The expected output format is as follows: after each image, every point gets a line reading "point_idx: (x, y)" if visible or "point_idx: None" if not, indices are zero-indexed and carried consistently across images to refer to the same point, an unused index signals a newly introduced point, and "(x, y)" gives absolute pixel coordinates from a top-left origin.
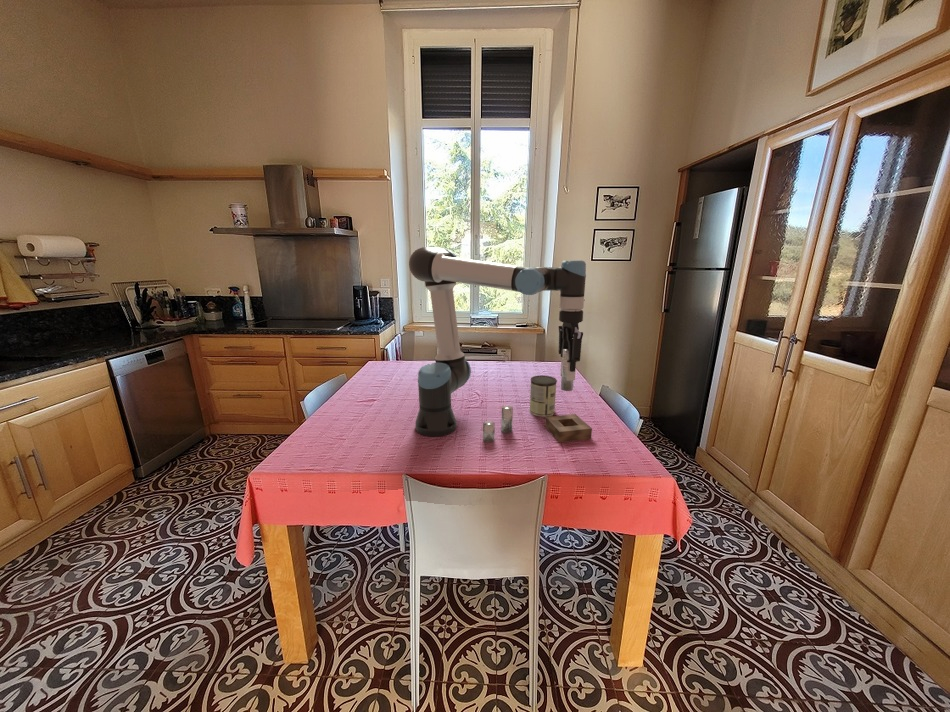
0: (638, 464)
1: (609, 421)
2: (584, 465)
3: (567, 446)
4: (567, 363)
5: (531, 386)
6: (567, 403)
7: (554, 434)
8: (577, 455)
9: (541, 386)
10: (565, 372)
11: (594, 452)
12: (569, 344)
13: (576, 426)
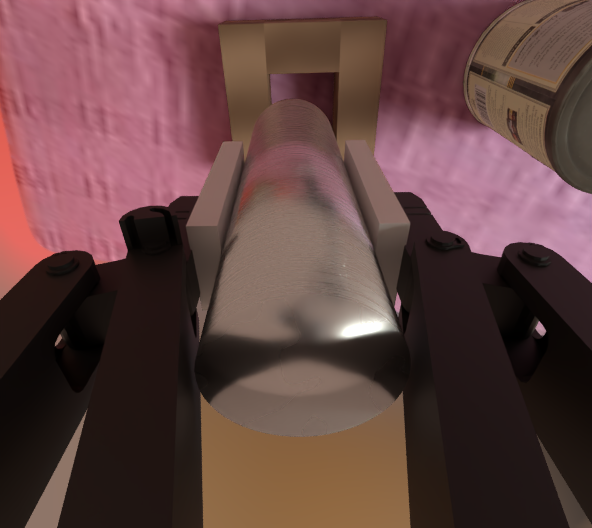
0: (87, 224)
1: None
2: (52, 49)
3: (192, 46)
4: (212, 212)
5: None
6: (534, 213)
7: (273, 20)
8: (123, 56)
9: (578, 56)
10: (253, 159)
11: (148, 132)
12: (91, 491)
13: None
